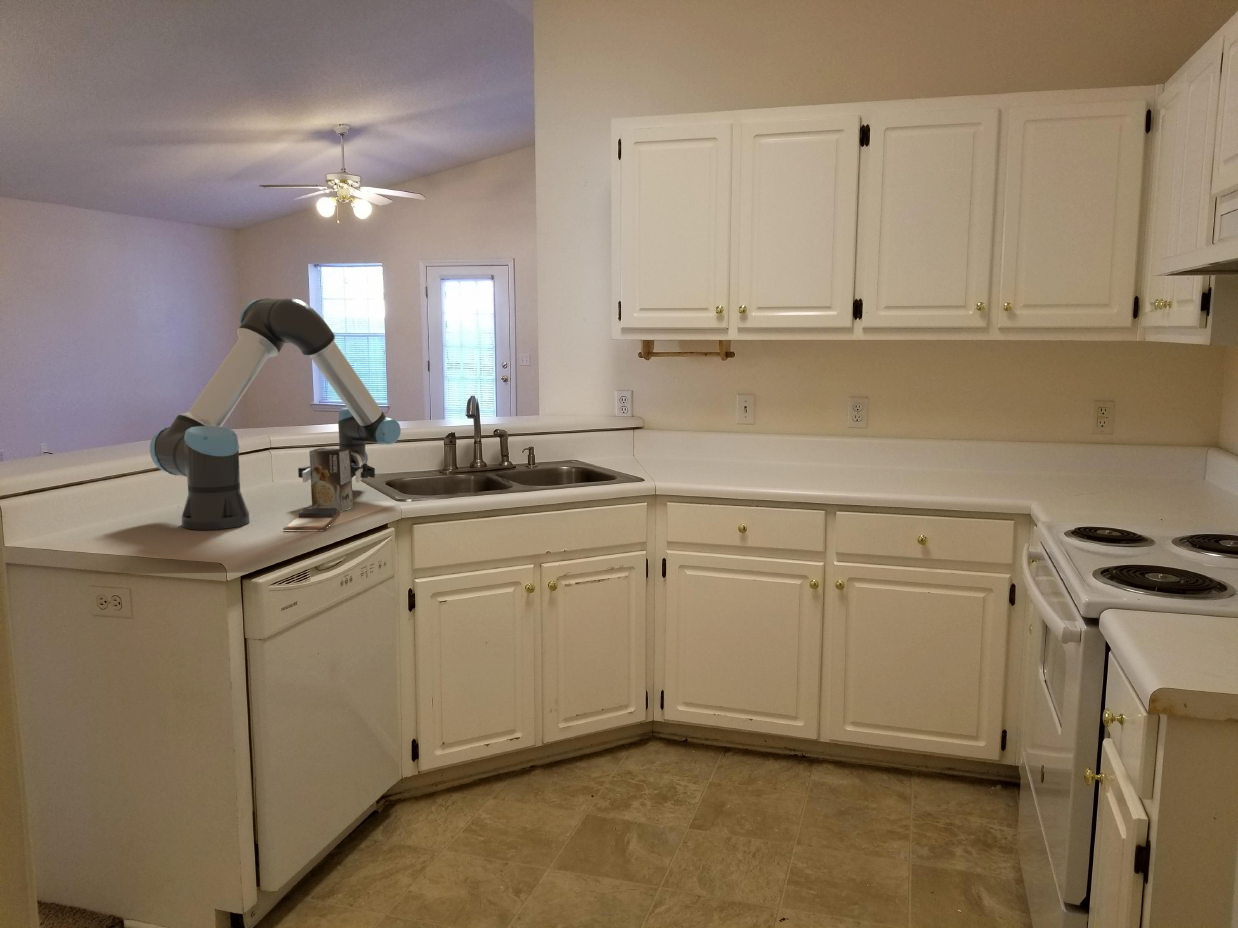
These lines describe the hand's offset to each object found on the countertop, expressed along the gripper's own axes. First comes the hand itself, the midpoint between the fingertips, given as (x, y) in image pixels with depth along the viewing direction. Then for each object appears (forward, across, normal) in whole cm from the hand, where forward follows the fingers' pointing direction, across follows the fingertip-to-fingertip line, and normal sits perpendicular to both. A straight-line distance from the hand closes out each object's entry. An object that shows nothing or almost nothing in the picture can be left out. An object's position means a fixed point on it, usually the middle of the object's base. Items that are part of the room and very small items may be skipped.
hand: (330, 477), depth 237 cm
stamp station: (+16, +1, -9) cm, 18 cm away
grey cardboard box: (-2, 0, -9) cm, 9 cm away
